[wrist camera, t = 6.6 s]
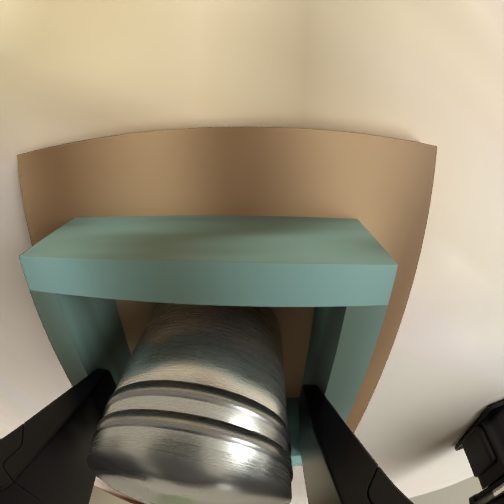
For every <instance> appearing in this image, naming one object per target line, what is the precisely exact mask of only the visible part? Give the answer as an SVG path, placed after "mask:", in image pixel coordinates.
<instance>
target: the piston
mask: <svg viewBox="0 0 504 504" xmlns="http://www.w3.org/2000/svg"><path fill="white" fill-rule="evenodd" d="M290 455H291V436H290V431H289V429H288V419H287V404H286V389H285V375H284V361H283V348H282V336H281V329H280V326H279V323H278V320H277V318H276V317H275V315H274V313H273V312H272V311H271V309H270V308H269V307H258V306H220V305H195V304H175V303H159V302H158V303H157V305H156V306H155V308H154V310H153V312H152V314H151V316H150V318H149V320H148V322H147V324H146V326H145V328H144V330H143V332H142V334H141V336H140V338H139V340H138V342H137V344H136V346H135V348H134V350H133V352H132V354H131V356H130V359H129V361H128V363H127V365H126V367H125V369H124V371H123V374H122V376H121V378H120V380H119V382H118V384H117V387H116V389H115V391H114V393H113V394H112V395H111V396H110V398H109V400H108V402H107V404H106V407H105V409H104V411H103V415H102V419H101V420H100V421H99V423H98V425H97V427H96V430H95V432H94V435H93V437H92V445H91V448H90V450H89V453H88V455H87V464H88V466H89V468H90V469H91V471H92V472H93V473H94V474H95V475H96V476H97V477H98V478H100V479H101V480H102V481H103V482H105V483H106V484H108V485H109V486H111V487H112V488H114V489H115V490H117V491H119V492H121V493H123V494H125V495H127V496H129V497H131V498H133V499H135V500H138V501H140V502H143V503H145V504H289V503H290V502H291V499H292V493H291V482H292V479H293V469H292V460H291V456H290Z"/></svg>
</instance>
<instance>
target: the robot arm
mask: <svg viewBox="0 0 504 504" xmlns="http://www.w3.org/2000/svg"><path fill="white" fill-rule="evenodd" d="M116 387H117V385H116V383H115V381H114V378H113V376H112V374H111V372H110V371H109V370H107V369H101V368H98V369H96V370H94V371H93V372H92V373H90V374H89V375H88V376H86V377H85V378H84V379H82V380H81V381H80V382H78V383H77V384H76V385H74V386H73V387H72V388H70V389H69V390H68V391H66V392H65V393H64V394H62V395H61V396H60V397H58V398H57V399H56V400H54V401H53V402H52V403H50V404H49V405H48V406H46V407H45V408H44V409H42V410H41V411H40V412H38V413H37V414H36V415H34V416H33V417H31V418H30V419H29V420H27V421H26V422H25V423H24V424H22V425H21V426H19V427H18V428H17V429H15V430H14V431H12V432H11V433H10V434H8V435H7V436H5V437H4V438H2V439H0V504H89V500H90V497H91V493H92V489H93V485H94V481H95V478H96V475H95V474H94V473H93V472H92V471H91V469H90V468H89V466H88V464H87V455H88V453H89V450H90V448H91V445H92V437H93V435H94V432H95V430H96V427H97V425H98V423H99V421H100V420H101V419H102V415H103V411H104V409H105V407H106V404H107V402H108V400H109V398H110V396H111V395H112V394H113V393H114V391H115V389H116ZM299 435H300V453H301V459H302V466H303V472H304V478H305V484H306V490H307V497H308V503H309V504H414V503H413V502H411V501H410V500H409V499H408V498H407V497H406V496H405V495H404V494H403V493H402V492H401V491H400V490H399V489H398V488H397V487H396V486H395V485H394V484H393V482H392V481H391V480H390V479H389V478H388V477H387V475H386V474H385V473H384V472H383V470H382V469H381V468H380V467H378V464H377V463H376V462H375V460H374V459H373V458H372V456H371V455H370V454H369V453H368V451H367V450H366V449H365V448H364V446H363V445H362V444H361V442H360V441H359V440H358V438H357V437H356V436H355V435H354V433H353V432H352V431H351V429H350V428H349V427H348V425H347V424H346V423H345V421H344V420H343V419H342V418H341V416H340V415H339V414H338V412H337V411H336V410H335V408H334V407H333V406H332V404H331V403H330V402H329V400H328V399H327V398H326V396H325V395H324V394H323V392H322V391H321V390H320V388H319V387H318V386H317V385H316V384H304V385H303V386H302V388H301V393H300V398H299ZM463 448H464V451H465V453H466V456H467V458H468V461H469V463H470V466H471V468H472V471H473V474H474V476H475V477H478V478H479V481H480V483H481V486H482V489H484V490H483V491H481V492H480V493H478V494H475V495H473V496H472V497H470V498H469V503H470V504H504V491H503V492H501V493H500V494H498V495H497V496H494V494H493V493H494V492H496V491H497V490H499V489H500V488H502V487H503V486H504V400H503V401H501V402H498V403H496V404H493V405H491V406H490V407H488V408H487V409H486V410H485V412H484V413H483V414H482V415H481V417H480V418H479V419H478V420H477V422H476V423H475V424H474V425H473V426H472V428H471V429H470V430H469V431H468V432H467V433H466V435H465V436H464V437H463V438H462V439H461V440H460V441H459V442H458V444H457V445H456V446H455V450H456V451H457V450H460V449H463ZM485 488H486V489H485Z"/></svg>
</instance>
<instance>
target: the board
mask: <svg viewBox="0 0 504 504" xmlns="http://www.w3.org/2000/svg"><path fill="white" fill-rule="evenodd" d="M436 153H437V146H433V145H428V144H424V143H419V142H413V141H407V140H402V139H395V138H389V137H382V136H375V135H368V134H359V133H351V132H341V131H330V130H318V129H303V128H282V127H209V128H188V129H173V130H160V131H150V132H140V133H131V134H123V135H116V136H109V137H102V138H96V139H90V140H84V141H78V142H73V143H68V144H63V145H58V146H53V147H48V148H44V149H40V150H35V151H31V152H27V153H24V154H20V155H17V160H18V169H19V178H20V185H21V192H22V198H23V204H24V209H25V215H26V220H27V225H28V229H29V234H30V238H31V242H32V247H31V248H30V249H28V250H27V251H25V252H24V253H23V254H21V255H20V256H19V258H20V262H21V265H22V268H23V272H24V275H25V278H26V281H27V284H28V287H29V290H30V293H31V296H32V298H33V301H34V304H35V307H36V309H37V312H38V314H39V317H40V319H41V322H42V324H43V327H44V329H45V331H46V334H47V336H48V338H49V340H50V343H51V345H52V347H53V349H54V351H55V353H56V355H57V357H58V359H59V361H60V363H61V365H62V367H63V369H64V371H65V373H66V375H67V377H68V379H69V381H70V382H71V384H72V386H74V385H76V384H77V383H78V382H80V381H81V380H82V379H84V378H85V377H86V376H88V375H89V374H90V373H92V372H93V371H94V370H96V369H98V368H101V369H107V370H109V371H110V372H111V374H112V376H113V378H114V381H115V383H116V385H117V384H118V382H119V380H120V378H121V376H122V374H123V371H124V369H125V367H126V365H127V363H128V361H129V359H130V356H131V354H132V352H133V350H134V348H135V346H136V344H137V342H138V340H139V338H140V336H141V334H142V332H143V330H144V328H145V326H146V324H147V322H148V320H149V318H150V316H151V314H152V312H153V310H154V308H155V306H156V305H157V303H158V302H159V303H175V304H195V305H220V306H258V307H269V308H270V309H271V311H272V312H273V313H274V315H275V317H276V318H277V320H278V323H279V326H280V329H281V336H282V348H283V361H284V375H285V389H286V404H287V419H288V429H289V431H290V436H291V455H290V456H291V460H292V466H296V465H302V459H301V453H300V435H299V398H300V393H301V388H302V386H303V385H304V384H316V385H317V386H318V387H319V388H320V390H321V391H322V392H323V394H324V395H325V396H326V398H327V399H328V400H329V402H330V403H331V404H332V406H333V407H334V408H335V410H336V411H337V412H338V414H339V415H340V416H341V418H342V419H343V420H344V421H345V423H346V424H347V425H348V427H349V428H350V429H351V431H352V432H353V433H354V432H355V430H356V428H357V426H358V424H359V422H360V420H361V418H362V416H363V414H364V412H365V410H366V408H367V406H368V403H369V401H370V399H371V397H372V395H373V393H374V390H375V388H376V386H377V383H378V381H379V379H380V376H381V374H382V372H383V369H384V367H385V364H386V362H387V359H388V356H389V354H390V351H391V349H392V346H393V343H394V340H395V338H396V335H397V332H398V329H399V326H400V323H401V320H402V317H403V314H404V311H405V308H406V304H407V301H408V298H409V294H410V291H411V287H412V284H413V280H414V276H415V273H416V269H417V265H418V261H419V256H420V252H421V248H422V243H423V239H424V234H425V229H426V224H427V218H428V213H429V207H430V201H431V194H432V187H433V180H434V172H435V163H436Z"/></svg>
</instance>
